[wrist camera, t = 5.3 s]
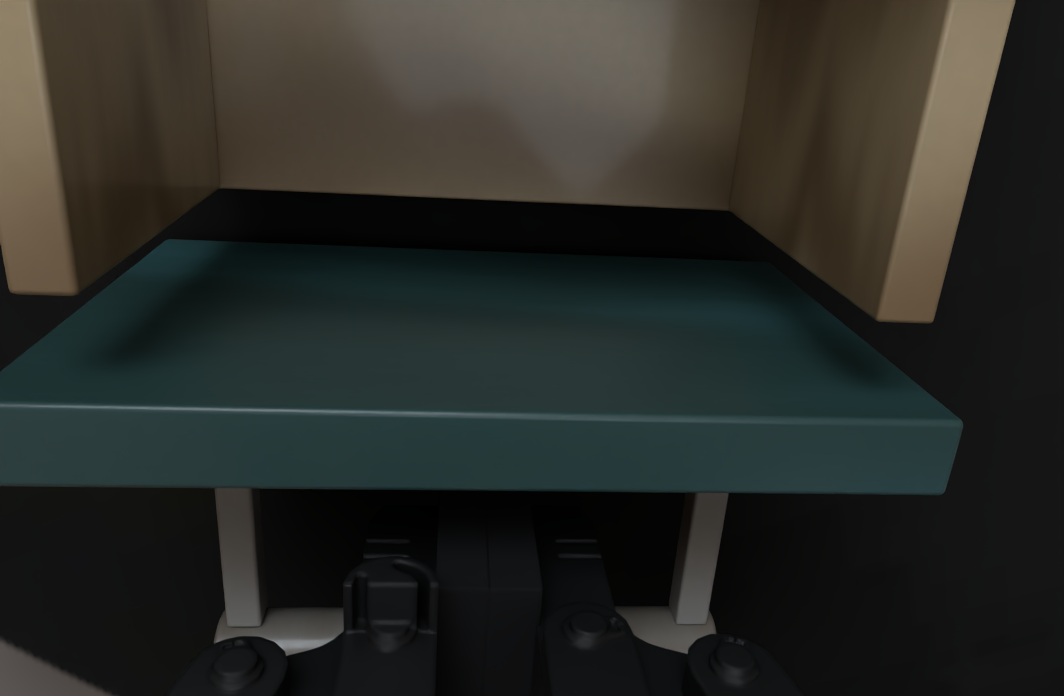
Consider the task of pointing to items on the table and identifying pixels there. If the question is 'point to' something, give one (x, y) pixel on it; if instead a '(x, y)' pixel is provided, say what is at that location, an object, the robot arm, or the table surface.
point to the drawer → (483, 254)
